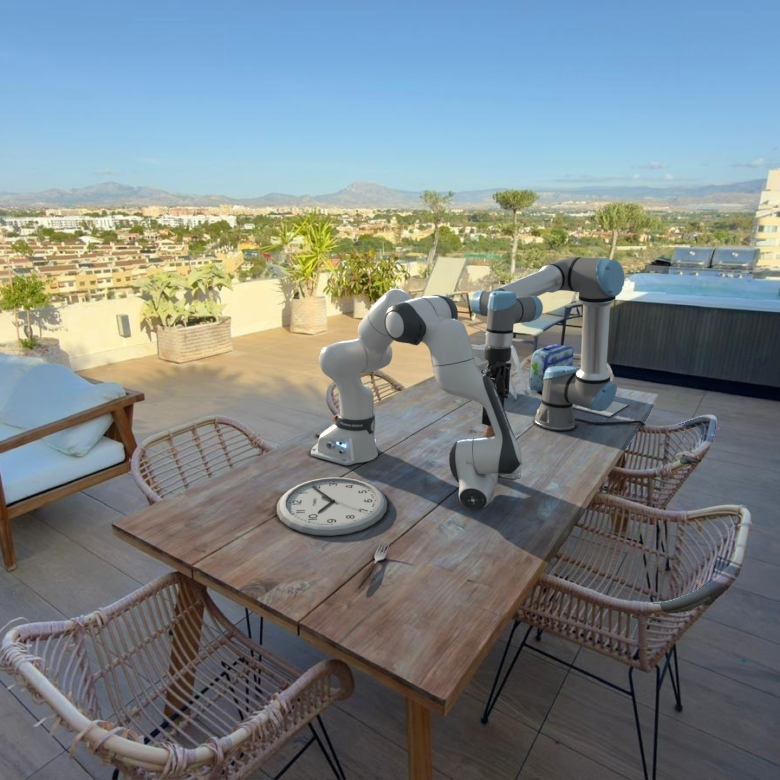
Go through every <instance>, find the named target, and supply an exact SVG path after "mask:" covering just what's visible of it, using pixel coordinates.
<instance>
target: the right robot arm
mask: <svg viewBox="0 0 780 780" xmlns="http://www.w3.org/2000/svg"><path fill="white" fill-rule="evenodd" d="M624 285H625V271H624V268H623V266H622V264H621V262H619V261H618V260H616V259H612V258H611V259H610V258H606V257H584V256H583V257H581V256H571V257H566V258H563V259H560V260H557V261H554V262H551V263H548V264H545V265H544V266H542V267H541V268H540V269H539V271H536V272H534V273H532V274H529V275H527V276H524V277H521V278H519V279H517V280H515V281H512V282H509V283H507V284H505V285H502V286H500V287H497V288H495V289H491V290H489V291H488V290H477V291H475V292H473V294H472V296H471V297H470V302H469V304H470V305H469V306H470V310H471V311H472V313H473V314H475V315H479V316H481V317H486V332H485V343H484V344H486V345H487V346H486V347H485V354H484V358H485V359H486V360H488V365H487V369H486V370H482V371H481V373H482V374H483V375H485V376H488V377H490V379H491V380H492V382H493V383H494V385H495V387H496V390H497V392H498V395H499V397H500V400H501V402H502V405H503V408H504V409H505V399H506V400H507V399H509V394H510V390H509V383H510V375H511V369H512V363H511V362H510V361H511V360H512V359H511V350H512V349H511V347H510V346H512V345H513V339H514V338H513V337H514V325H515V324H523V323H530V322H534V321H537V320H539V318H540V317H541V316H542V314H543V311H544V306H543V302H542V300H541V299H540V298H539V296H541V295H544V294H546V293H551V294H553V293H556V292H560V291H566V292H575V293H578V302H580V303H581V304H582V321H581V345H580V346H581V349H580V353H581V354H580V368H579V369H578V368H577V367H576V366H573V365H572V366H554V367H550V368H547V369H546V371H545V374H544V378H543V379H544V381H543V391H542V392H541V393H542V394H541V402H540V405H539V407H538V408H537V410H536V413H535V417H534V424H535V425H536V426H537V427H539V428H542V429H544V430H549V431H556V432H567V431H572V430H574V429H575V428H576V422H579V423H585V424H589V425H597V426H598V425H600V426H601V425H624V424H625V425H627V424H629V425H630V424H631V425H632V424H640V425H642V426H646V423H644V421H642V420H628V421H627V420H623V421H590V420H585V419H581V418H575V417H576V416H575V413H574V407H573V405H574V406H581V407H584V408H588V409H590V410H595V411H604V410H606V409H607V408H608V407H609V406H610V405H611V403H612V402H613V401H614V400H615V398H616V394H617V390H618V385H617V383H616V382H615V381H613V380H611V372H610V371H609V370H608V369H607V365H608V364H607V363H608V347H609V331H610V315H611V304H612V303H614V302H615V301H616V298H617V296H619V295H620V294H621V293H622V291H623V287H624ZM510 359H511V360H510ZM481 425H485V426H487V425H488V426H491V422H490V419H489V417H488V414H487V411H486V409H485V408H484V407H483V406H482V414H481Z"/></svg>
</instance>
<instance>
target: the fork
mask: <svg viewBox="0 0 780 780" xmlns="http://www.w3.org/2000/svg"><path fill="white" fill-rule="evenodd" d="M381 543H382V545H381ZM384 543H385V545H384ZM390 543H391V542H388V543H387V542H385V541H383V542H382V541H380V542H379V545H378V547H377V550H376V551H375V554H374V562H373V563H372V564H371V565H370V566H369V567H368V568H367V569H366V571H365V573H364V575H363V577H362V579H361V581H360V583H359V585H358V588H357V589H360V588H362V586H363V585H364V584H365V582H366V581H367V580H368V578H369V577H370V576H371V575H372V573H373V571H374V570H375V567H376V565H377V562H379V561H384V560H385V559H386V557H387V554H388V551H389V547H390ZM387 544H388V545H387ZM380 547H381V548H380ZM383 547H384V548H383Z"/></svg>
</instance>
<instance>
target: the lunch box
mask: <svg viewBox="0 0 780 780" xmlns="http://www.w3.org/2000/svg"><path fill="white" fill-rule="evenodd" d="M530 359H531V360H530V366H529V377H528V379H529V380H528V387H529V390H531V391H536V392H541V393H542V391H543V381H544V379H543V378H544V374H545V371H546V369H547V368H550V367H554V366H572V367H573V363H574V347H572V346H568V345H562V344H551V345H547V346H545V347H541V348H539V349H536V350H534V352H533V353H532V355H531V358H530Z"/></svg>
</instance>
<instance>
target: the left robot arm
mask: <svg viewBox="0 0 780 780" xmlns="http://www.w3.org/2000/svg"><path fill="white" fill-rule="evenodd" d="M458 317H459V311H458V306H457V305H456V302H455V301H454V300H453V299H452V298H451V297H450V296H446V295H444V294H443V295H442V294H433V295H427V296H418V297H416V298H412V296H411V295H410V294H409V293H408V292H406V291H405V290H403V289H400V288H392V289H389V290H388V291H386V292H385V293H384V294H382V295H381V296H380V297H379V298H378V299H377V300H376V301H375V302H374V303H373V304H372V306H371V307H370V308H369V310H368V311H367V313H366V314H365V315H364V316H363V318H362V319H361V321H359V324H358V326H357V337H358V338H354V339H350V340H343V341H337V342H334V343H331V344H328V345H326V346H324V347H322V348H321V350H320V353H319V356H318V365H319V368H320V370H321V371H322V373H323V374H324V375H325V376H326V377H327V378H329V379H330V380H331V381H332V382H333V383H334V384H335V386H336V389H337V392H338V402H339V410H338V411H337V413H336V414H335V415H334V416H333V417H332V422H334V423H333V424H331V425H330V426H327V427H326V428H325V430H323V431H322V432H321V433H320V434H317V433H316V434H315V437H316V438H318V440H317V443H316V444H314V445H313V447H312V448H311V449H310V456H311V457H314V458H318V459H322V460H325V461H329V462H333V463H336V464H339V465H344V466H351V465H354V464H361V463H367V462H370V461H373V460H375V459H376V458H377V457H378V455H379V451H378V448H377V443H376V442H377V441H376V437H375V430H376V414H375V412H374V409H375V408H374V404H375V400H374V399H375V396H374V392H373V389H372V388H371V387H369V385H367V384H364V383H362V379H361V378H362V377H361V375H362V374H368V373H373V372H376V371H379V370H381V369H383V368H386V367H387V366H389V365H390V364H391V362H392V360H393V348H392V346H391V345H392V343H393V342H394V341H395V342H397V343H402V344H409V345H412V346H419V345H420V344H421V343H423V344H425V346H426V347H427V349H428V350H429V354H430V360H431V365H432V371H433V376H434V379H435V381H436V384H437V385H438V386H439V388H440V389H441V390H442V391H444V392H446V393H448V394H449V395H451V396H455V397H459V398H462V399H468V400H471V401H474V402H476V403H478V404H480V405H481V406H482V408H483V407H484V408H485V409H486V411H487V414H488V417H489V419H490V422H491V425H492V427H493V430H494V433H495V436H493V437H484V436H483V437H475V438H474V437H473V438H464V439H458V440H457V441H455V443H454V444H453V445H452V447H451V449H450V452H449V456H448V457H449V458H448V460H449V461H448V463H449V464H448V465H449V468H450V469H449V470H450V471H451V475H452V480H453V481H456V482H457V483H458V484H459V485H458V500H459V502H460V504H461V505H462V506H463V507H464V508H466V509H468V510H470V511H479V510H483V509H485V508H486V507H487V506H488V505H489V503H490V502H491V500H492V498H493V496H494V493H495V488H496V486H497V484H498V480H503V481H510V482H515V481H517V480H520V479H521V478H522V466H523V462H522V459H523V457H522V456H523V455H522V449H521V447H520V444H519V443H518V440H517V438H516V436H515V434H514V432H513V429H512V426H511V424H510V421H509V418H508V416H507V413H506V411H505V407H504V408H503V405H502V402H501V400H500V397H499V395H498V392H497V390H496V385H494V383H493V382H492V380H491V379H492V378H491V379H490V377H488V376H485V375H483V374H482V373H481V371H480V370H479V368H478V367H477V365H476V362H475V358H474V354H473V349H472V347H473V346H472V345H473V344H472V342H471V339H470V336H469V333H468V331H467V328H466V326H465V324H464V323H463V322H462V321H461V320H458Z"/></svg>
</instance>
